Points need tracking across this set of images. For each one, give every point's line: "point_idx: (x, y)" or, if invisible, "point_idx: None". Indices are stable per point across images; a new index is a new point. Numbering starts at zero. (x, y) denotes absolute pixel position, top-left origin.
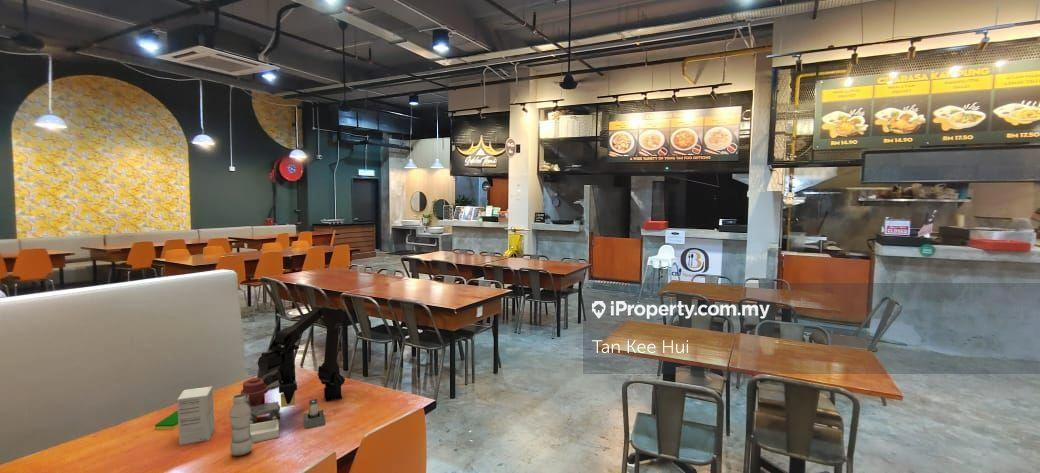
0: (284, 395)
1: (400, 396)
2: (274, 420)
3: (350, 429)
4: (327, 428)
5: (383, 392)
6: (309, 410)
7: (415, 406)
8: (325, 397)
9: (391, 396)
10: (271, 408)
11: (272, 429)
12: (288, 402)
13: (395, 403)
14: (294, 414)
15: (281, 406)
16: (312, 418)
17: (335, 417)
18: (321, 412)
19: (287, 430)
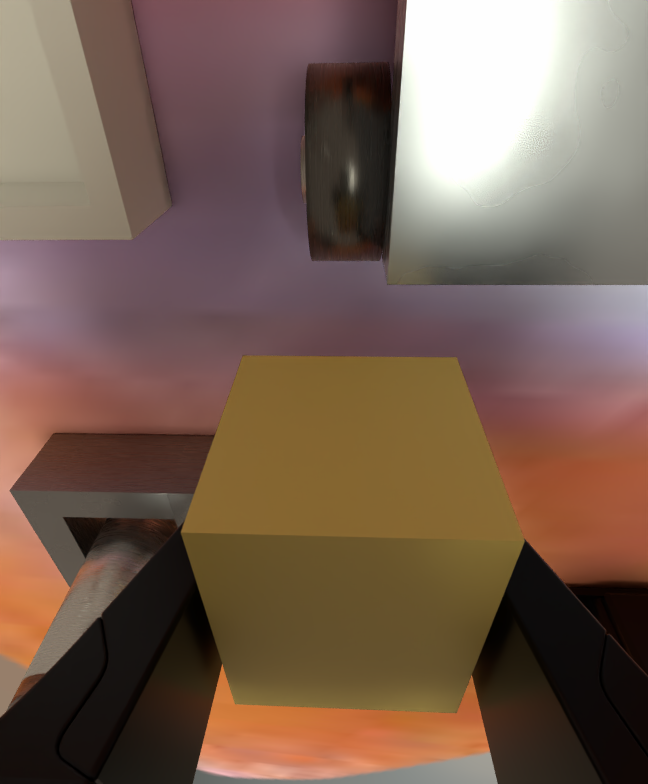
0: (47, 674)
1: (354, 762)
2: (91, 181)
3: (7, 619)
4: (39, 545)
5: (455, 744)
6: (87, 590)
7: (213, 767)
8: (605, 606)
9: (378, 750)
10: (459, 142)
11: (51, 128)
12: None
13: (281, 745)
14: None
15: (238, 371)
16: (67, 540)
17: None
18: None
19: (45, 300)
